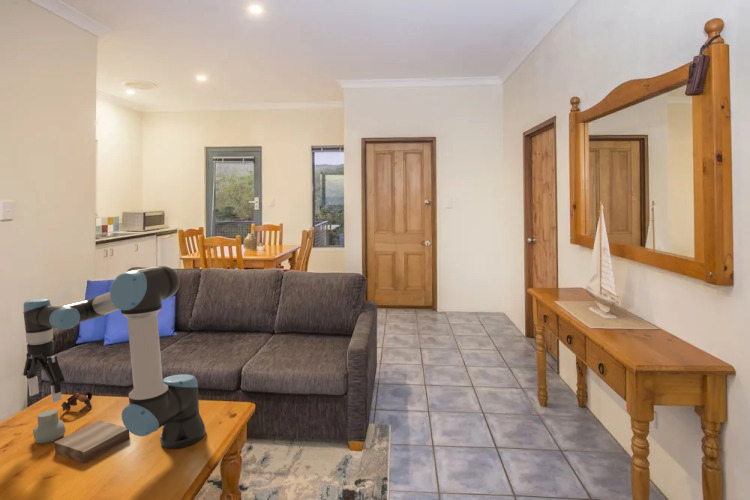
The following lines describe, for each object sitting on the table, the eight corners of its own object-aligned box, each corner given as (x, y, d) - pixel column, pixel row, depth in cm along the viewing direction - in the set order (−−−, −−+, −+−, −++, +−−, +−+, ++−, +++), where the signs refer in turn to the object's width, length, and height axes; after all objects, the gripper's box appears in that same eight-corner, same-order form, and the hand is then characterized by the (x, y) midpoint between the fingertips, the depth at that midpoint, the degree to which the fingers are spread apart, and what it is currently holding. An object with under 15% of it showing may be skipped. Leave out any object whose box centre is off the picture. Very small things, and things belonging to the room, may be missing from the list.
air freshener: (33, 438, 153) (30, 412, 152) (60, 429, 159) (58, 404, 158) (38, 449, 146) (35, 422, 145) (67, 439, 152) (64, 413, 151)
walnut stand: (129, 438, 152) (128, 428, 151) (85, 463, 137) (83, 452, 137) (101, 430, 158) (100, 420, 157) (55, 453, 143) (54, 442, 143)
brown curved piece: (83, 416, 169) (69, 402, 167) (67, 424, 172) (53, 410, 169) (103, 396, 181) (90, 383, 178) (87, 404, 183) (75, 390, 180)
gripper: (73, 342, 147) (77, 399, 149) (31, 334, 157) (36, 387, 159) (49, 349, 140) (55, 408, 143) (7, 340, 150) (13, 396, 152)
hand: (45, 397), depth 151 cm, fingers open, 13 cm apart
